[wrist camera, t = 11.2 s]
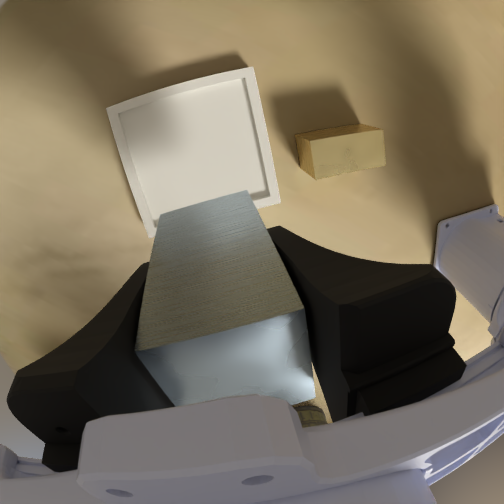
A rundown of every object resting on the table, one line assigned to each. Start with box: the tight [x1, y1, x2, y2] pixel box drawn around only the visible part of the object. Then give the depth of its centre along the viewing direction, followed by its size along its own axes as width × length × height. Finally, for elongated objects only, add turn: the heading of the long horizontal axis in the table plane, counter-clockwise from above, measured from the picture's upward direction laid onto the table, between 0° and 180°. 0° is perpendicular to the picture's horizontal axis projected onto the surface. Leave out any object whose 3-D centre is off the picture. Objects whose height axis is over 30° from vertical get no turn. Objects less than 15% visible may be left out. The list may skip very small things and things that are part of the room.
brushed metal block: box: [135, 190, 315, 407], centre depth 11 cm, size 4×4×8 cm
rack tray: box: [106, 67, 281, 238], centre depth 18 cm, size 9×9×1 cm
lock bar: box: [295, 124, 386, 180], centre depth 19 cm, size 5×2×3 cm, turn 102°
